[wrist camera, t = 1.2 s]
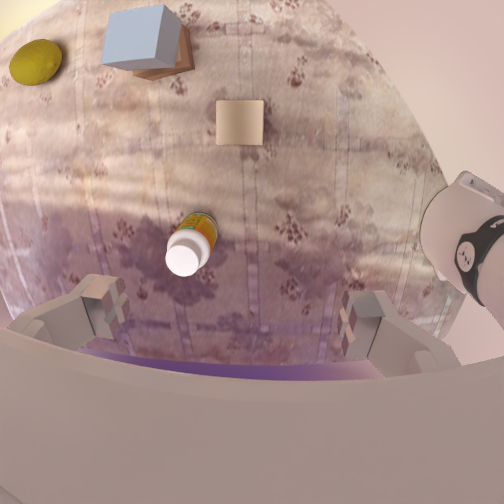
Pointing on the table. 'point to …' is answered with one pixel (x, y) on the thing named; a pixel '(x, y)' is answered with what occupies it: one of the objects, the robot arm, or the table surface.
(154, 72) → the bottom block
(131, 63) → the top block
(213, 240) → the supplement bottle
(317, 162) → the table surface
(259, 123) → the maple block
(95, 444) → the robot arm
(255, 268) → the table surface
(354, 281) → the table surface
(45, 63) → the lemon
